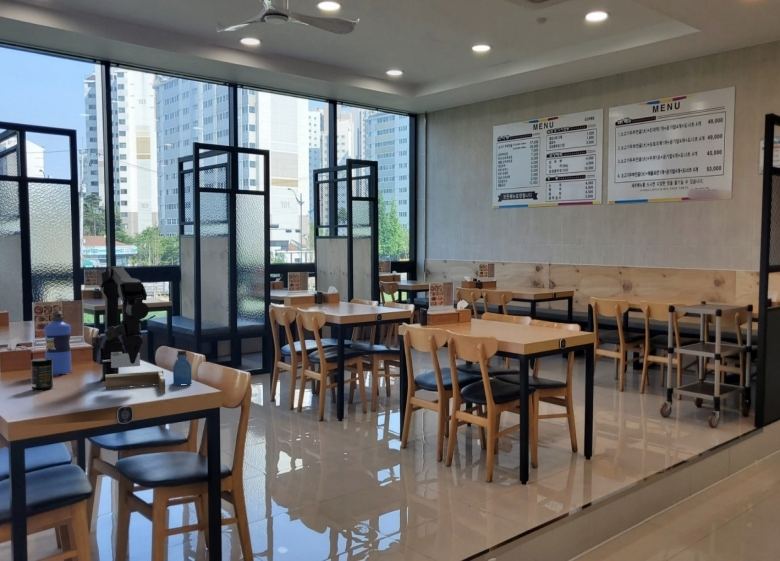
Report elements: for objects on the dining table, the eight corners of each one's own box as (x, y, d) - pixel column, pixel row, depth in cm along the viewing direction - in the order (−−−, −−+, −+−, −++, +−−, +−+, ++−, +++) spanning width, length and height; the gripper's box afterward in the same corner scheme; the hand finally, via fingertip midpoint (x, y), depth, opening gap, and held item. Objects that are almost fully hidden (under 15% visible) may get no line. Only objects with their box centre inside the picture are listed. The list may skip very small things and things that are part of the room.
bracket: (138, 362, 228) (138, 350, 228) (140, 366, 220) (139, 354, 220) (111, 363, 224) (110, 352, 224) (111, 367, 216) (110, 356, 216)
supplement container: (57, 388, 229) (56, 358, 228) (40, 391, 222) (39, 361, 222) (44, 386, 231) (43, 357, 231) (27, 390, 225) (26, 360, 225)
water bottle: (54, 376, 251) (53, 312, 250) (40, 374, 256) (38, 311, 255) (76, 372, 259) (75, 310, 258) (62, 370, 264) (61, 309, 263)
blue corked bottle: (191, 384, 233) (191, 351, 232) (173, 386, 231) (172, 352, 231) (191, 381, 239) (190, 349, 238) (173, 382, 237) (173, 350, 236)
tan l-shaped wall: (105, 388, 228) (105, 374, 227) (163, 383, 235) (163, 370, 235) (105, 398, 211) (104, 383, 211) (167, 393, 219) (167, 379, 218)
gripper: (105, 315, 225) (106, 360, 226) (105, 320, 208) (106, 368, 209) (139, 314, 230) (140, 358, 230) (142, 319, 213) (143, 366, 213)
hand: (132, 362), depth 221 cm, fingers closed on bracket, 4 cm apart
